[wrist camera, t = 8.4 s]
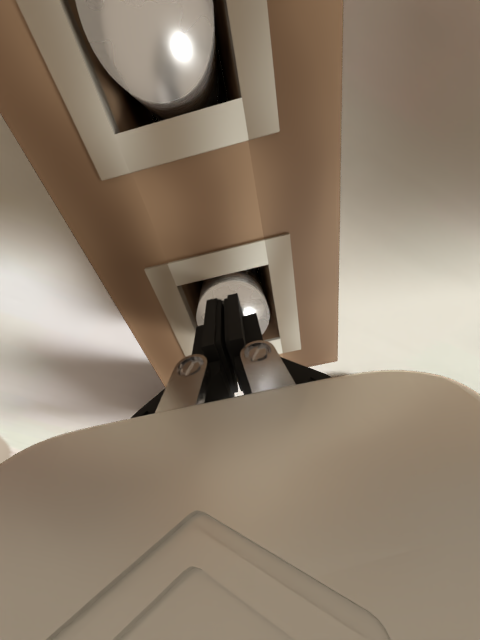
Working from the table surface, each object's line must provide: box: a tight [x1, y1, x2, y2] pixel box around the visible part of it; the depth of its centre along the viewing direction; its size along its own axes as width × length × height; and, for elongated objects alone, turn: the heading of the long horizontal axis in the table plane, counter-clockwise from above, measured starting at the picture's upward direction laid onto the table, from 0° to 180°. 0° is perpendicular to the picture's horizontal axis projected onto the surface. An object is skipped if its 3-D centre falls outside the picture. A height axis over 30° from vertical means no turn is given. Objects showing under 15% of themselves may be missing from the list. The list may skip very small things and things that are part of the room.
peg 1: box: [75, 0, 219, 121], centre depth 10 cm, size 4×4×7 cm
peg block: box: [0, 0, 343, 388], centre depth 13 cm, size 12×22×8 cm, turn 13°
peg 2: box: [196, 268, 270, 334], centre depth 15 cm, size 4×4×7 cm
